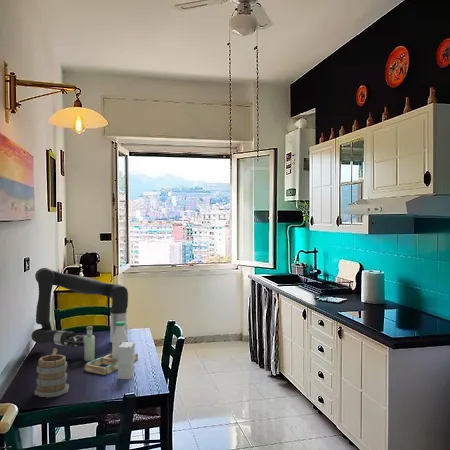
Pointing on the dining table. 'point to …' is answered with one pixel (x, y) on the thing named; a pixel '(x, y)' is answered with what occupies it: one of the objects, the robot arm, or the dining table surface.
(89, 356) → the sage bottle
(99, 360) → the frame
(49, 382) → the tankard
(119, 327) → the milk bottle
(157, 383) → the dining table surface
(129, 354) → the skincare box
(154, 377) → the dining table surface
